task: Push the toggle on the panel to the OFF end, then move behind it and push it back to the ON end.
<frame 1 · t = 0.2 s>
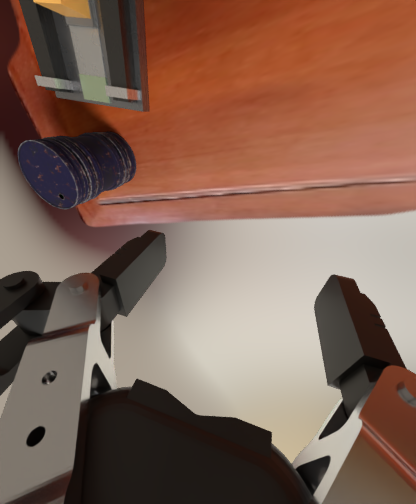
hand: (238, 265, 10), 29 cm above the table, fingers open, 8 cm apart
dark blue cylinder: (115, 158, 40), on the table
panel: (90, 9, 28), on the table
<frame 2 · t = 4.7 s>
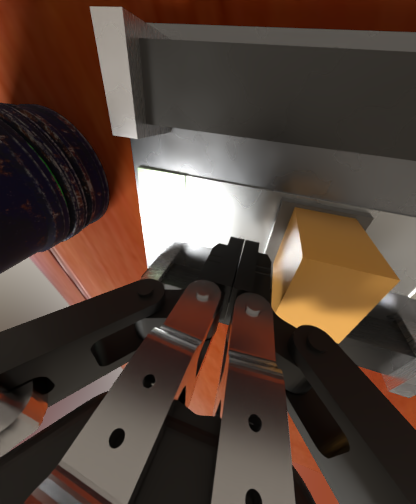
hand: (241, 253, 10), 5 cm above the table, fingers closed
dark blue cylinder: (62, 172, 17), on the table
toggle: (314, 265, 10), point 5 cm above the table, slide at -0.6 cm, touching gripper
panel: (296, 221, 14), on the table
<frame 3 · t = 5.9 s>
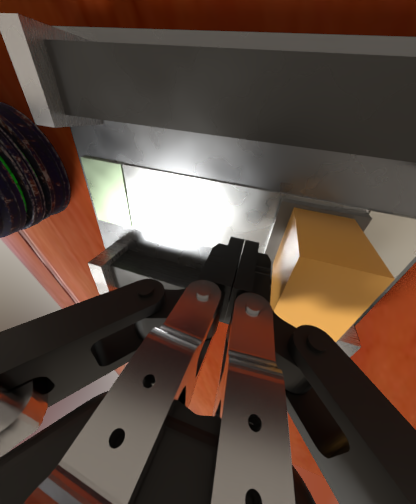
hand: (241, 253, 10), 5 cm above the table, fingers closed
dark blue cylinder: (27, 164, 19), on the table
toggle: (312, 264, 10), point 5 cm above the table, slide at -5.2 cm, touching gripper, panel
panel: (231, 208, 15), on the table
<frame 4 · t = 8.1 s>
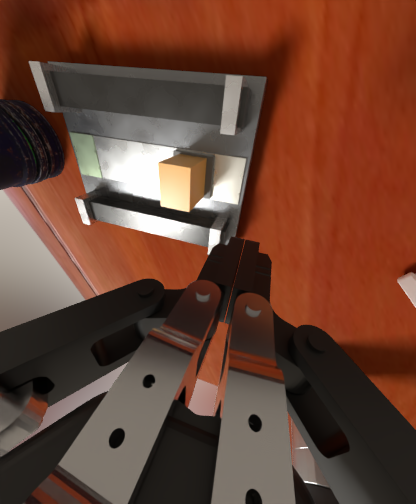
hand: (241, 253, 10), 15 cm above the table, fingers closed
dark blue cylinder: (35, 142, 28), on the table
toggle: (185, 180, 20), point 5 cm above the table, slide at -5.2 cm, touching panel
panel: (160, 163, 24), on the table
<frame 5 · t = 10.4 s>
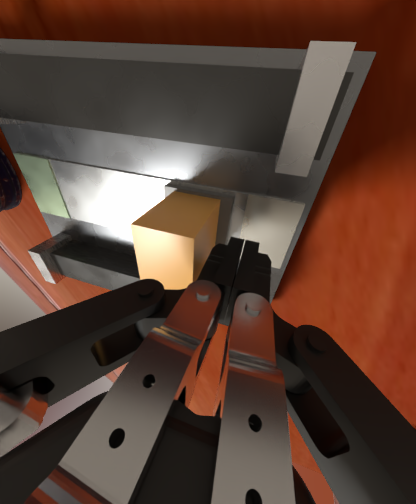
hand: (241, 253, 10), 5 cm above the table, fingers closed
toggle: (184, 239, 12), point 5 cm above the table, slide at -4.4 cm, touching gripper
panel: (156, 198, 16), on the table
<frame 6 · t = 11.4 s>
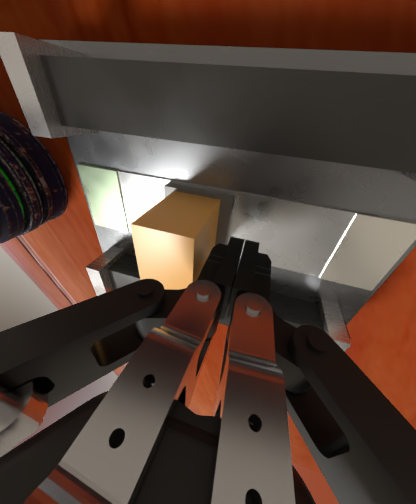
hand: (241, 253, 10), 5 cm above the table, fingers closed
dark blue cylinder: (24, 171, 19), on the table
toggle: (184, 239, 12), point 5 cm above the table, slide at 1.5 cm, touching gripper
panel: (225, 211, 15), on the table
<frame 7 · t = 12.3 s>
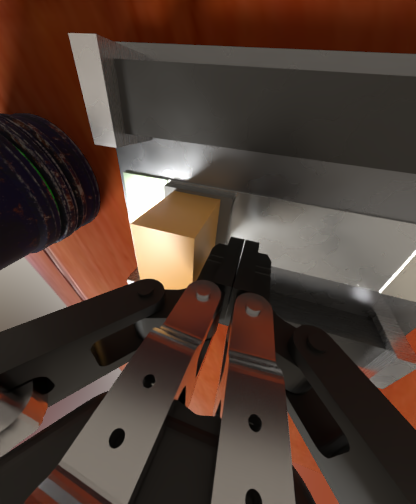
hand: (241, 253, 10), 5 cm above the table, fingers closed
dark blue cylinder: (55, 176, 18), on the table
toggle: (184, 239, 11), point 5 cm above the table, slide at 5.2 cm, touching gripper, panel
panel: (274, 221, 14), on the table
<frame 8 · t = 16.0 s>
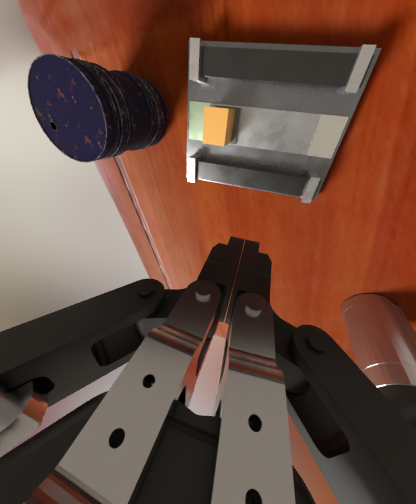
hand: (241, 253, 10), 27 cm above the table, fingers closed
dark blue cylinder: (142, 114, 33), on the table
toggle: (219, 125, 27), point 5 cm above the table, slide at 5.2 cm, touching panel
panel: (260, 128, 29), on the table
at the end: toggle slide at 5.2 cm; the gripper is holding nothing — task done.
